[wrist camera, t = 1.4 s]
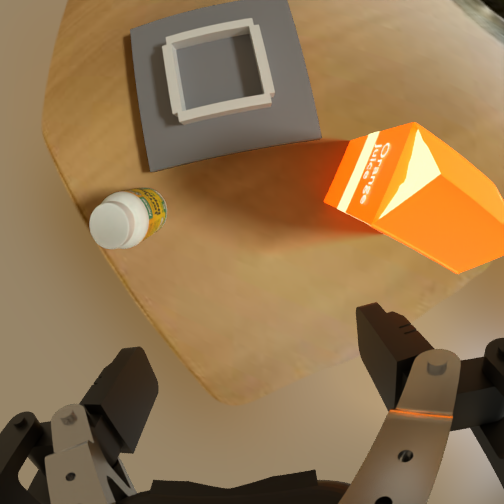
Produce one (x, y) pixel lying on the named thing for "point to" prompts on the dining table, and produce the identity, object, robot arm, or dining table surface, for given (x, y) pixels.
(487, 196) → the orange juice
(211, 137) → the socket board
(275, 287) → the dining table surface
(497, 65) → the dining table surface
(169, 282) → the dining table surface
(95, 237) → the supplement bottle
